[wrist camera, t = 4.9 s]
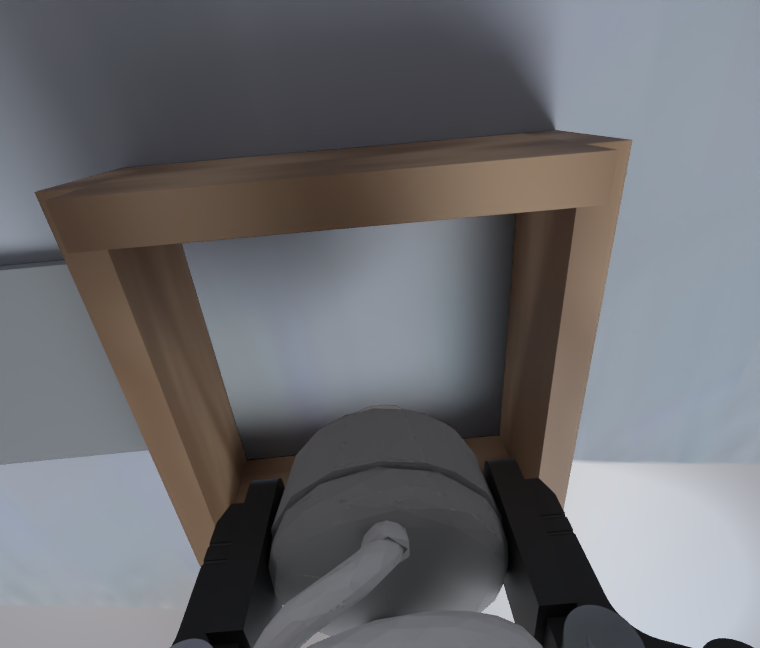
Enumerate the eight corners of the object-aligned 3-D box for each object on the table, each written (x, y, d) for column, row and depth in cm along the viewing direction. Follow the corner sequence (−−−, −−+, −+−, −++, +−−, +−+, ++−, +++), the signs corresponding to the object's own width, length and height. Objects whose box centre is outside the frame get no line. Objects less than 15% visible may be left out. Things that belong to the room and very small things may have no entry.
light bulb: (474, 465, 15) (756, 1370, 4) (320, 492, 15) (221, 1394, 5) (455, 327, 12) (1052, 1749, 2) (270, 363, 13) (-225, 1739, 2)
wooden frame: (556, 130, 15) (672, 145, 9) (521, 450, 22) (576, 563, 16) (121, 167, 14) (-12, 205, 9) (228, 480, 21) (187, 604, 16)
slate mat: (96, 257, 16) (88, 262, 15) (170, 439, 20) (165, 448, 19) (-148, 279, 16) (-166, 285, 15) (-23, 458, 20) (-33, 467, 19)
